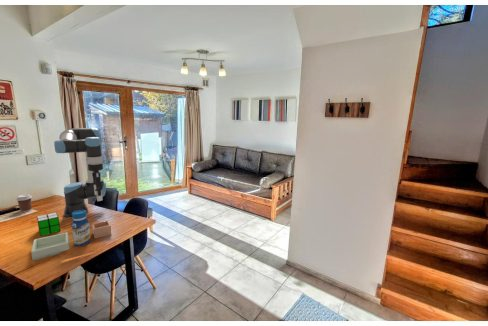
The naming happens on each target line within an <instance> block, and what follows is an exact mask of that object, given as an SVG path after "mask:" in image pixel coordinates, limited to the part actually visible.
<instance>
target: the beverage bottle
mask: <svg viewBox="0 0 488 326" xmlns="http://www.w3.org/2000/svg"><path fill="white" fill-rule="evenodd" d="M87 214H88V213H86V210H77V211H74V212H73V213H72V217H71V219H72V222H71V232H72V239H73V245H74V247H84V246H86V245H89V244H90V243H91V242H92V240H91V230H90V227H91V225H90V220H89V219H88V217H87Z"/></svg>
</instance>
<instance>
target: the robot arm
mask: <svg viewBox="0 0 488 326" xmlns="http://www.w3.org/2000/svg"><path fill="white" fill-rule="evenodd" d="M58 138H59V139H58V140H55V141H53V142H54V143H53V144H54V151H55V153H56V154H70V153H71V154H72V153H84V154H85V155H84V156H85V165H86V173H87V174H86V175H87V180H86V181H85V183H83V182H82V181H79V182H78V181H77V182H72V183H69V184H66V185H65V186H64V187H63V194H64V202H65V207H64V210H63V217H65V218H72V213H73V212H74V211H77V210H86V214H88V213H89V208H88V206H87V204H86V203H85V200H88V199H95V198H96V201H97V202H101V201H103V200H104V199H103V198H104V196H105V195H106V190H107V183H106V181H104V179H103V178H102V177H101V171H103V169H104V165H103V156H102V155H103V154H102V145H101V144H102V143H103V141H102V136H101V133H100V130H99V129H98V128H96V127H81V128H80V127H73V128H72V127H71V128H68V129H66V130H63V131H62V132H60V134H59V137H58Z"/></svg>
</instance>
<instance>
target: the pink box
mask: <svg viewBox="0 0 488 326" xmlns="http://www.w3.org/2000/svg"><path fill="white" fill-rule="evenodd" d="M91 226H92V228H91V229H92V234H93V238H94V239H99V238H103V237H105V236H109V235H110V236H111V235H112V227H111V226H112V225H111V223H110V220H109V219H108V220H103V221H100V222H93V223H92V224H91Z"/></svg>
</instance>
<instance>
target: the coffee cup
mask: <svg viewBox="0 0 488 326" xmlns="http://www.w3.org/2000/svg"><path fill="white" fill-rule="evenodd" d="M32 198H33V196H32V195H30V194H28V193H25V194H20V195H18V196H17V198H16V199H15V201H17V204H18V208H19V211H20V213H21V212H22V213H26V212H29V211H32V210H33V209H32Z"/></svg>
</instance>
